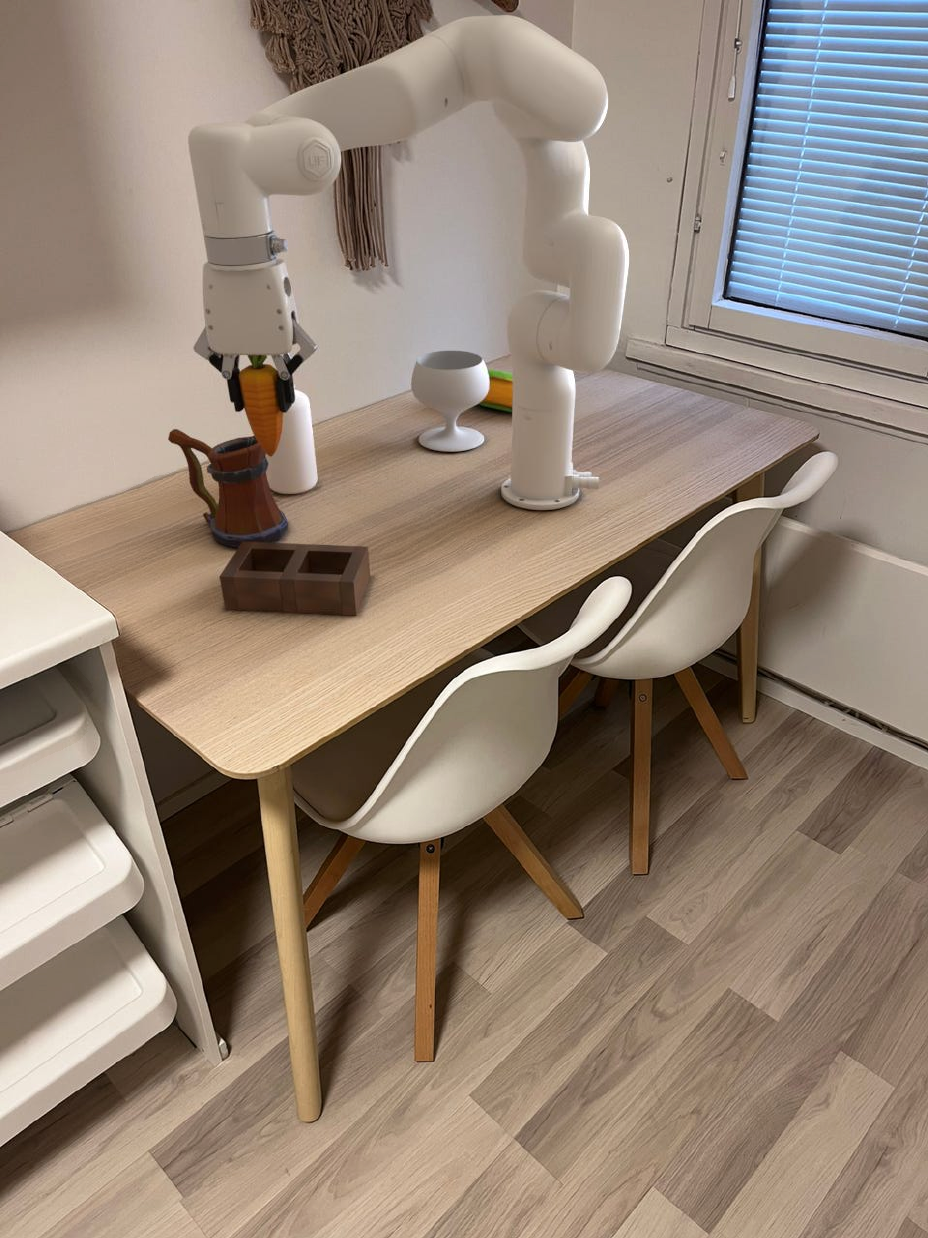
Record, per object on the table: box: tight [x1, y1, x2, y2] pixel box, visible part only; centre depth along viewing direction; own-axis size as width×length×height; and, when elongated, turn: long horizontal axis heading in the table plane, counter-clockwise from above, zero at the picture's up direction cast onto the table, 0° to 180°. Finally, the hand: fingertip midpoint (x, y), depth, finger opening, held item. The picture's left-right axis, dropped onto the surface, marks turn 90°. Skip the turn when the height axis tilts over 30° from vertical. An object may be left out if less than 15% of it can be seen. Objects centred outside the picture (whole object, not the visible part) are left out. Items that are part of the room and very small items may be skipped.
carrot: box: [238, 355, 283, 457], centre depth 109 cm, size 5×5×15 cm
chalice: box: [410, 350, 490, 452], centre depth 162 cm, size 14×14×15 cm
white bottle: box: [266, 382, 319, 495], centre depth 145 cm, size 8×8×18 cm
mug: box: [167, 428, 289, 549], centre depth 133 cm, size 18×12×15 cm, turn 63°
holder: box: [219, 542, 371, 617], centre depth 119 cm, size 17×10×5 cm, turn 84°
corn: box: [477, 368, 513, 413], centre depth 178 cm, size 7×8×20 cm
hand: (263, 406), depth 110 cm, fingers closed on carrot, 4 cm apart
